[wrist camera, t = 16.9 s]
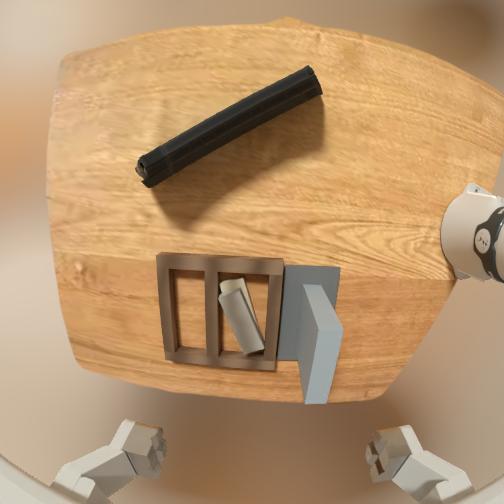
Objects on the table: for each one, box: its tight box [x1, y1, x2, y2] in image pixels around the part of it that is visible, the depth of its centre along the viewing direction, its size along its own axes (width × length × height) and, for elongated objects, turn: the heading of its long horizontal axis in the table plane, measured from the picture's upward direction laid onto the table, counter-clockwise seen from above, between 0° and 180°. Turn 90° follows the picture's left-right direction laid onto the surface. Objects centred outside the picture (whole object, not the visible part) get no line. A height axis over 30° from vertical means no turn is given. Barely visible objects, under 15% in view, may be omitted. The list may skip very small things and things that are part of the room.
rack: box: [156, 252, 284, 370], centre depth 46 cm, size 20×20×2 cm
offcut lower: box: [219, 276, 262, 350], centre depth 47 cm, size 4×13×2 cm, turn 15°
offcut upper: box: [218, 287, 264, 354], centre depth 45 cm, size 4×11×2 cm, turn 21°
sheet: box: [296, 284, 344, 404], centre depth 39 cm, size 3×12×15 cm, turn 178°
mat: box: [277, 265, 340, 360], centre depth 47 cm, size 9×18×1 cm, turn 178°
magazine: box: [135, 65, 323, 188], centre depth 35 cm, size 17×3×30 cm
